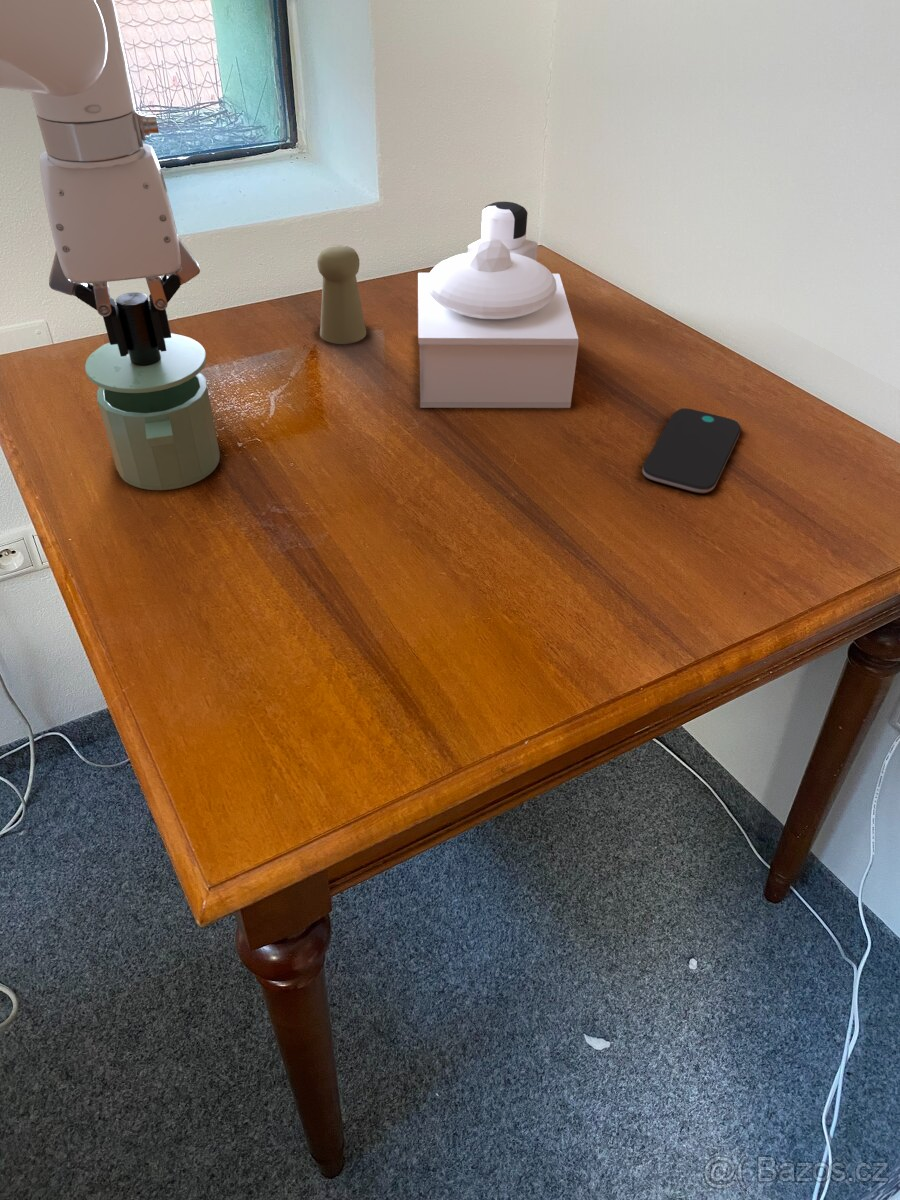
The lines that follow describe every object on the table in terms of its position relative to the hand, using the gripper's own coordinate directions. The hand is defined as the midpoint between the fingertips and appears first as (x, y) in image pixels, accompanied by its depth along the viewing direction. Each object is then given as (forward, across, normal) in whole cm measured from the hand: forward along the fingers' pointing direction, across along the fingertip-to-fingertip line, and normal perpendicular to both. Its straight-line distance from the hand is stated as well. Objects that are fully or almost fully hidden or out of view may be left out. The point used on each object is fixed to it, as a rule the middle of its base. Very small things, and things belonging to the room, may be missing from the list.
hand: (142, 345), depth 83 cm
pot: (+13, 0, 0) cm, 13 cm away
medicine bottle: (+13, -48, -30) cm, 58 cm away
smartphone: (+13, -54, +14) cm, 57 cm away
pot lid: (+2, 0, 0) cm, 2 cm away
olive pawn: (+13, -24, -24) cm, 36 cm away
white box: (+13, -39, -9) cm, 42 cm away
